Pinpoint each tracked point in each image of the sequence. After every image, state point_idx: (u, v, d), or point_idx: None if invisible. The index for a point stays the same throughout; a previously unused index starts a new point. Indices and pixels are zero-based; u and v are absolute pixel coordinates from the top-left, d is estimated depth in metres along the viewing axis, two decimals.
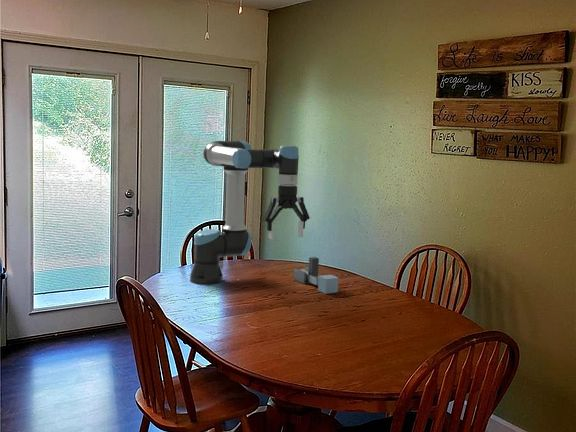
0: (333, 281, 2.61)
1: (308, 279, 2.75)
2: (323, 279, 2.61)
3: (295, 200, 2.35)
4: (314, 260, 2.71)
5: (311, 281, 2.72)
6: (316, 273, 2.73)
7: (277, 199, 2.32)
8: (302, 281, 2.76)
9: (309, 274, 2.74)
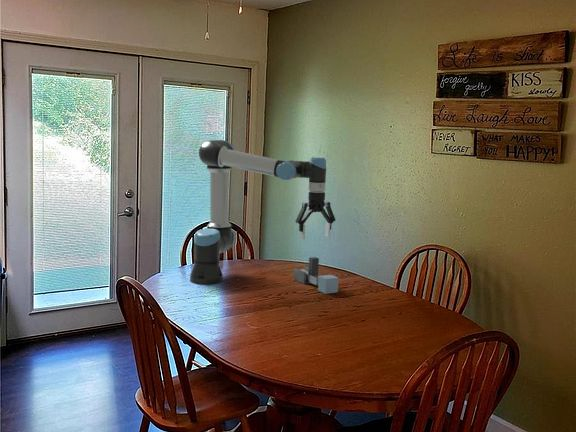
0: (333, 281, 2.61)
1: (308, 279, 2.75)
2: (323, 279, 2.61)
3: (323, 205, 2.70)
4: (314, 260, 2.71)
5: (311, 281, 2.72)
6: (316, 273, 2.73)
7: (308, 204, 2.66)
8: (302, 281, 2.76)
9: (309, 274, 2.74)
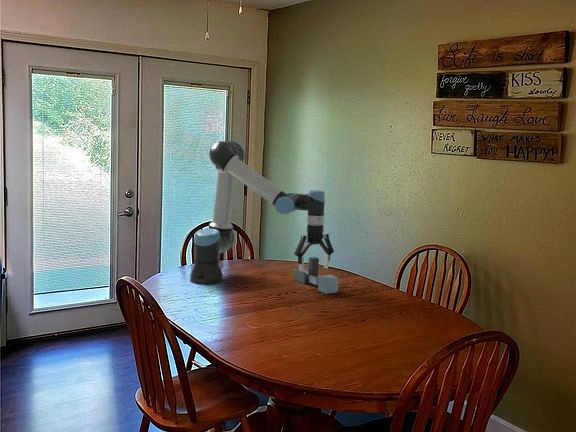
0: (333, 281, 2.61)
1: (308, 279, 2.75)
2: (323, 279, 2.61)
3: (321, 237, 2.72)
4: (314, 260, 2.71)
5: (311, 281, 2.72)
6: (316, 273, 2.73)
7: (306, 236, 2.68)
8: (302, 281, 2.76)
9: (309, 274, 2.74)
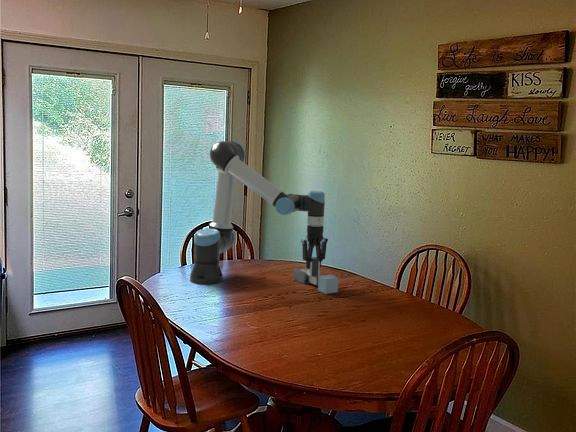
0: (333, 281, 2.61)
1: (308, 279, 2.75)
2: (323, 279, 2.61)
3: (321, 238, 2.72)
4: (314, 260, 2.71)
5: (311, 281, 2.72)
6: (316, 273, 2.73)
7: (306, 239, 2.69)
8: (302, 281, 2.76)
9: None
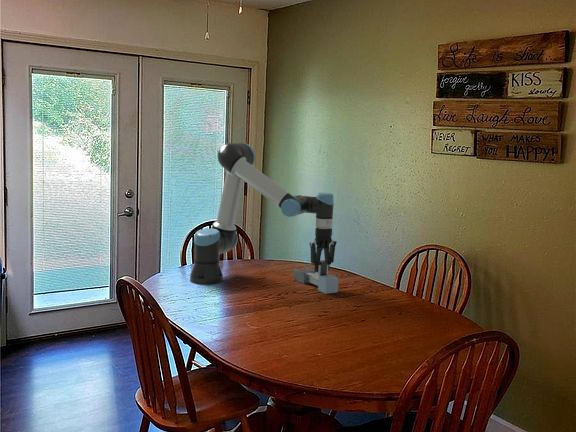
0: (333, 281, 2.61)
1: (316, 283, 2.69)
2: (323, 279, 2.61)
3: (330, 240, 2.66)
4: (322, 263, 2.65)
5: None
6: None
7: (315, 242, 2.63)
8: (302, 281, 2.76)
9: None
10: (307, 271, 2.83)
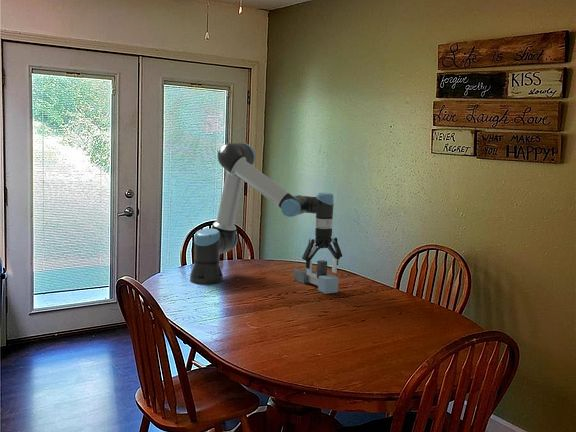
0: (333, 281, 2.61)
1: (316, 283, 2.69)
2: (323, 279, 2.61)
3: (330, 240, 2.66)
4: (322, 263, 2.65)
5: None
6: None
7: (315, 240, 2.63)
8: (302, 281, 2.76)
9: (317, 278, 2.68)
10: None
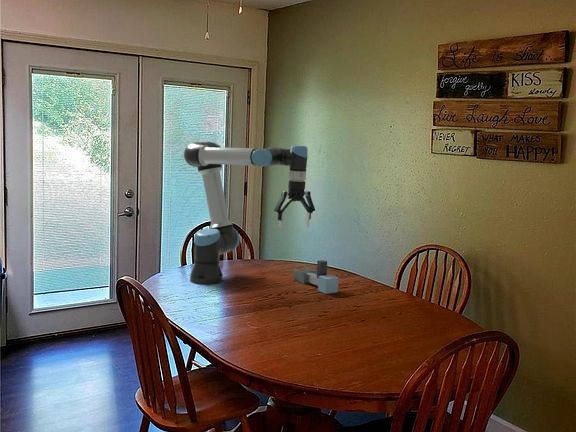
0: (333, 281, 2.61)
1: (316, 283, 2.69)
2: (323, 279, 2.61)
3: (303, 194, 2.65)
4: (322, 263, 2.65)
5: None
6: None
7: (287, 192, 2.62)
8: (302, 281, 2.76)
9: (317, 278, 2.68)
10: (307, 271, 2.83)
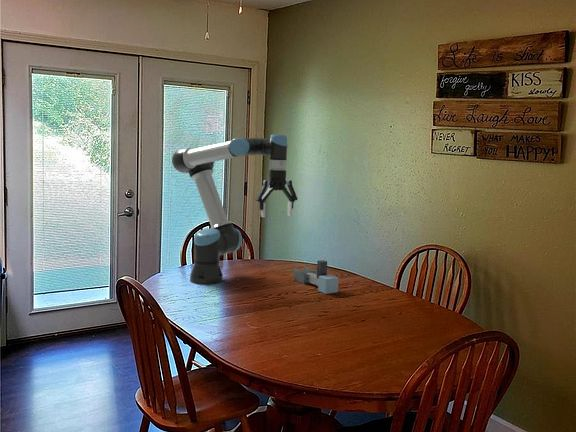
0: (333, 281, 2.61)
1: (316, 283, 2.69)
2: (323, 279, 2.61)
3: (284, 183, 2.65)
4: (322, 263, 2.65)
5: None
6: None
7: (268, 182, 2.62)
8: (302, 281, 2.76)
9: (317, 278, 2.68)
10: (307, 271, 2.83)
